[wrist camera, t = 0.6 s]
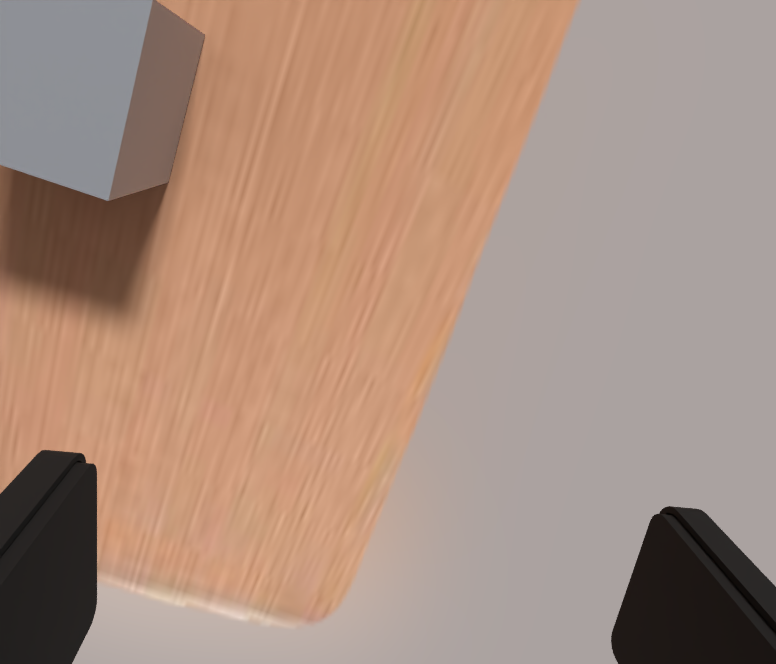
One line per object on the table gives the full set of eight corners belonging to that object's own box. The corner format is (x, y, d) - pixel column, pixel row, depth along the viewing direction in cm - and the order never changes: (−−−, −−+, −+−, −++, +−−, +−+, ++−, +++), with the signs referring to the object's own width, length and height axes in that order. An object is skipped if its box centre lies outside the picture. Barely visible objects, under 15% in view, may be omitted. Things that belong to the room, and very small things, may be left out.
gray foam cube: (19, 130, 31) (-100, 131, 22) (46, -28, 29) (-74, -92, 20) (168, 182, 32) (108, 201, 24) (205, 34, 30) (153, -2, 22)
